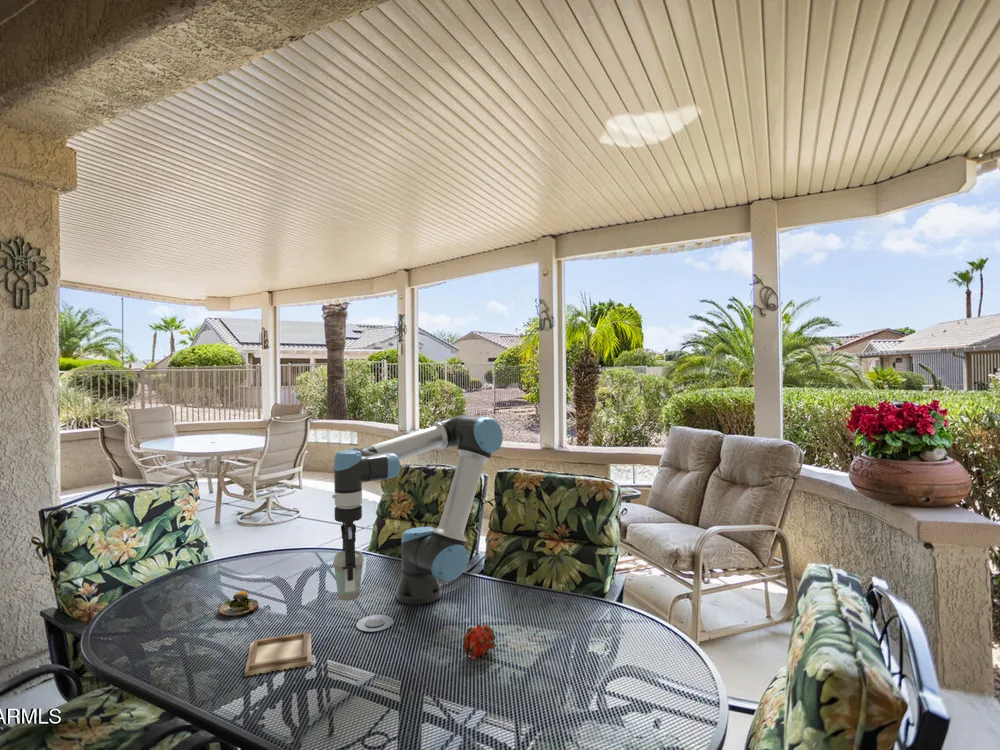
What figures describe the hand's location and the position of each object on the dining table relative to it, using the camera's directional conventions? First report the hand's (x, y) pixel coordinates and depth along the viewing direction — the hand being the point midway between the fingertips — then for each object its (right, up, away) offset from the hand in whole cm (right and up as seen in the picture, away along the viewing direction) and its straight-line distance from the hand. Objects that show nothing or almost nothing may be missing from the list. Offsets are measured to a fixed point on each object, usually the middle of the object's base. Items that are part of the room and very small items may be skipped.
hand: (348, 584), depth 155 cm
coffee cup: (0, -4, 0) cm, 4 cm away
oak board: (-17, -17, -7) cm, 25 cm away
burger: (-41, -17, +21) cm, 49 cm away
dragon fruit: (+37, -17, -7) cm, 41 cm away
